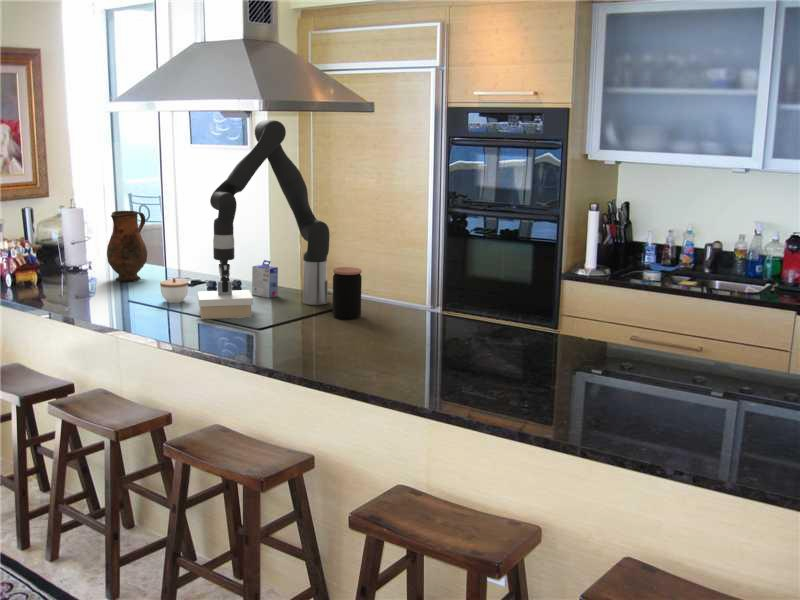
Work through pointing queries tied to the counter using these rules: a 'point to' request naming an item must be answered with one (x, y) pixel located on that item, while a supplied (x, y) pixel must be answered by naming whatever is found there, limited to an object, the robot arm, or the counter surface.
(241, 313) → the base
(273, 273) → the ink cartridge box
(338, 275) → the coffee jar
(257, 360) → the counter surface
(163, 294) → the lidded jar
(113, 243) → the pitcher
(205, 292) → the lid
